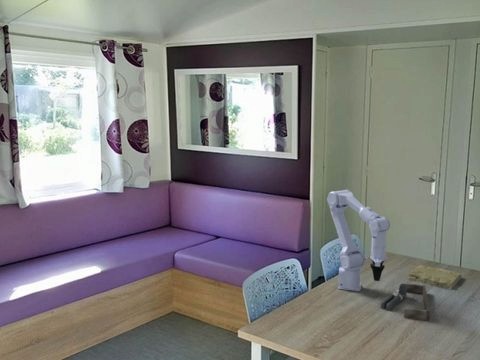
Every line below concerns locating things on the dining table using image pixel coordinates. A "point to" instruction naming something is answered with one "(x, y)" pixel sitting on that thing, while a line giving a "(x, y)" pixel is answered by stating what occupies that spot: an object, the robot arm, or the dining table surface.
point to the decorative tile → (435, 276)
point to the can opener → (394, 298)
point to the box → (416, 312)
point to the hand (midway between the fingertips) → (376, 277)
